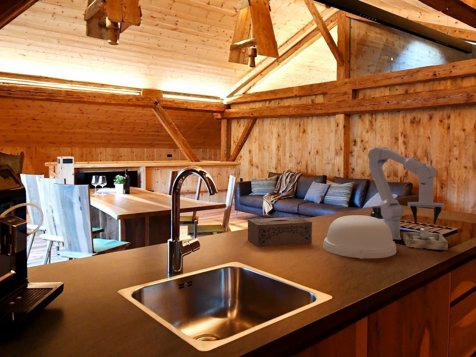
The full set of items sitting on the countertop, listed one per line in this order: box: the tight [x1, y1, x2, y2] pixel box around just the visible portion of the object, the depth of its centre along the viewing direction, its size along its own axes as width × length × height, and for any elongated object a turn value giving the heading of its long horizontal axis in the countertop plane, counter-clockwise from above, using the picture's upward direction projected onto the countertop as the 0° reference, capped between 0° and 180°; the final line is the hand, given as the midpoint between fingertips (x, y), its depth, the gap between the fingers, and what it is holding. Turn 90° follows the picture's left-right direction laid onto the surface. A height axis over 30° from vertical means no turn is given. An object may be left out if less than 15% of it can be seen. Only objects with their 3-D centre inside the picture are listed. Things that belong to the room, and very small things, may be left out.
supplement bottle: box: [369, 205, 384, 219], centre depth 214 cm, size 7×7×12 cm
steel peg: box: [419, 227, 430, 240], centre depth 182 cm, size 4×4×7 cm
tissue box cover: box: [247, 216, 313, 248], centre depth 187 cm, size 26×14×10 cm, turn 106°
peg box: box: [402, 231, 449, 251], centre depth 182 cm, size 16×16×4 cm
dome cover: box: [322, 214, 397, 260], centre depth 174 cm, size 32×30×14 cm
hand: (424, 223), depth 181 cm, fingers open, 7 cm apart
